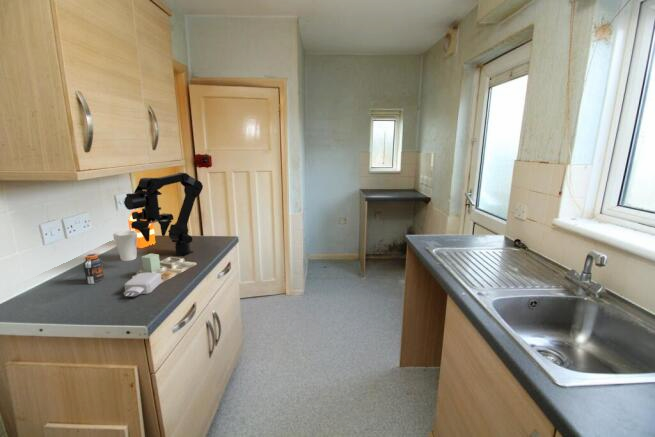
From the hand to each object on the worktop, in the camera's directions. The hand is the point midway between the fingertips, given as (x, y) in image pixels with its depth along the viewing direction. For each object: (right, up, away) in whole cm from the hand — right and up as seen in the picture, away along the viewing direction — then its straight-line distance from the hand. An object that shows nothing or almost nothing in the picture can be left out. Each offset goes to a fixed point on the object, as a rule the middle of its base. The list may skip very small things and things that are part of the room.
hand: (155, 238), depth 142 cm
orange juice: (-23, -6, +29) cm, 37 cm away
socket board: (+8, -14, -7) cm, 18 cm away
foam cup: (-17, -10, +8) cm, 22 cm away
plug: (+5, -14, -11) cm, 19 cm away
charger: (+9, -19, -26) cm, 33 cm away
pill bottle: (-15, -16, -17) cm, 28 cm away
